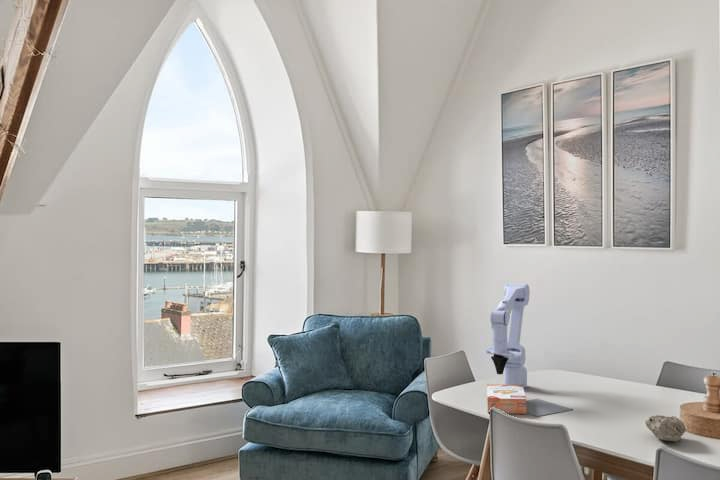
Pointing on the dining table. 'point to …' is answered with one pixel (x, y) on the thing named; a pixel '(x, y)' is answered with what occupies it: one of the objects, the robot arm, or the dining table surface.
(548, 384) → the dining table surface
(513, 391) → the cracker box
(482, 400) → the dining table surface
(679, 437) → the pumice stone
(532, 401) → the mat
